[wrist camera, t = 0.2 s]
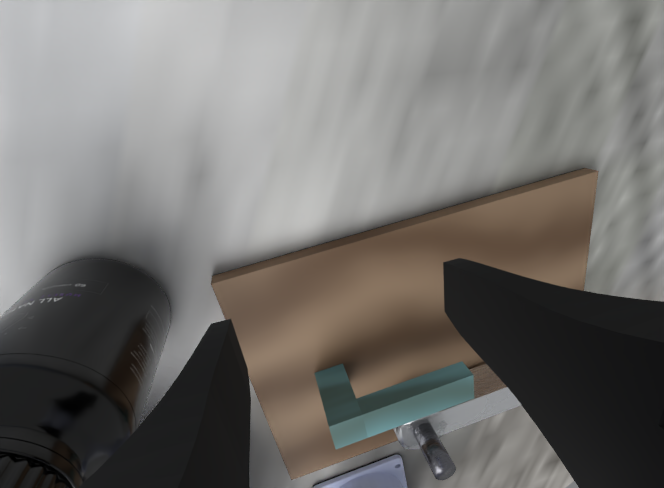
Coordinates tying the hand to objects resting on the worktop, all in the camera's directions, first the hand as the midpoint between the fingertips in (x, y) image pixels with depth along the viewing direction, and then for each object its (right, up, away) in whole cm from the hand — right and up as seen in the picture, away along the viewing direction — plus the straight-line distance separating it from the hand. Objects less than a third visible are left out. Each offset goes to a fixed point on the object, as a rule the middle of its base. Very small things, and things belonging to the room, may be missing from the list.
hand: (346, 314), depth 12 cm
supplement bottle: (-13, -1, +8) cm, 16 cm away
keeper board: (+6, -4, +14) cm, 16 cm away
